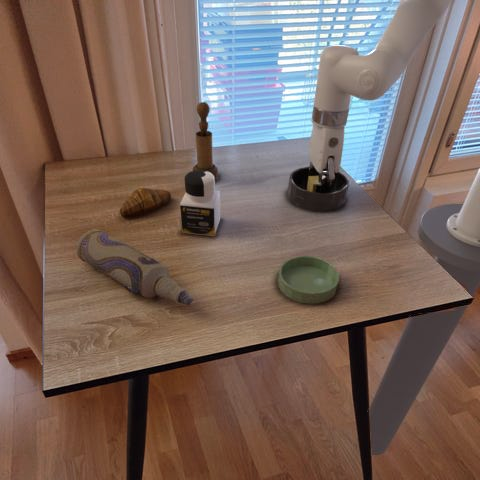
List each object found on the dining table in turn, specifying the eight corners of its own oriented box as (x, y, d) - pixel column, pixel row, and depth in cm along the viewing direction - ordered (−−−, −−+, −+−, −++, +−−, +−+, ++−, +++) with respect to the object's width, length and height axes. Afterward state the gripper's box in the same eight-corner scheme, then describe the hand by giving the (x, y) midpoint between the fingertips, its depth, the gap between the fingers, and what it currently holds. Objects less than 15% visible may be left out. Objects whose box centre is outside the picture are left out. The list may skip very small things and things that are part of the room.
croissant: (161, 193, 101) (159, 173, 98) (178, 204, 98) (177, 184, 95) (113, 212, 95) (108, 192, 91) (129, 224, 91) (126, 204, 88)
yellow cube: (322, 190, 103) (324, 175, 101) (326, 198, 101) (329, 183, 98) (306, 191, 103) (308, 176, 100) (310, 199, 100) (313, 184, 97)
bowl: (334, 182, 108) (338, 165, 105) (353, 210, 98) (357, 192, 95) (282, 184, 106) (283, 167, 103) (295, 213, 96) (297, 195, 93)
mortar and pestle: (188, 180, 107) (183, 104, 94) (199, 169, 111) (196, 96, 98) (211, 185, 105) (209, 109, 92) (222, 174, 109) (222, 100, 97)
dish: (326, 264, 83) (328, 253, 81) (344, 301, 75) (347, 290, 74) (272, 268, 82) (273, 258, 80) (285, 306, 74) (286, 295, 72)
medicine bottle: (182, 233, 89) (177, 181, 81) (189, 216, 94) (186, 165, 86) (214, 237, 89) (213, 184, 80) (220, 219, 94) (220, 168, 85)
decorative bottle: (78, 267, 80) (69, 238, 76) (109, 250, 85) (102, 221, 80) (175, 328, 69) (171, 298, 65) (204, 305, 74) (203, 275, 69)
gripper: (360, 130, 83) (342, 210, 96) (334, 101, 95) (321, 176, 108) (324, 131, 82) (311, 212, 95) (302, 102, 94) (293, 177, 107)
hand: (316, 192), depth 101 cm, fingers open, 5 cm apart
